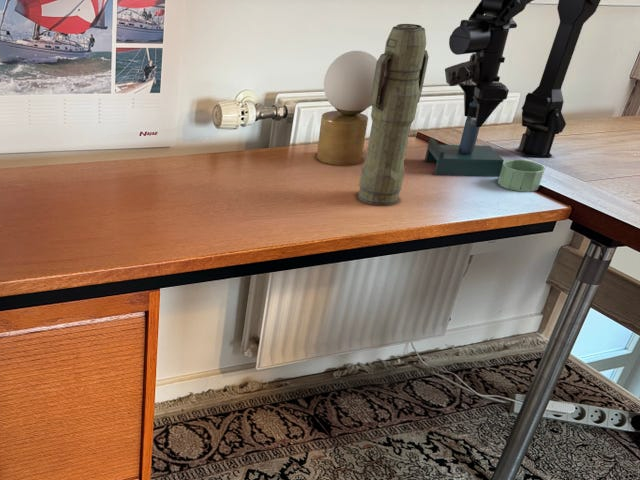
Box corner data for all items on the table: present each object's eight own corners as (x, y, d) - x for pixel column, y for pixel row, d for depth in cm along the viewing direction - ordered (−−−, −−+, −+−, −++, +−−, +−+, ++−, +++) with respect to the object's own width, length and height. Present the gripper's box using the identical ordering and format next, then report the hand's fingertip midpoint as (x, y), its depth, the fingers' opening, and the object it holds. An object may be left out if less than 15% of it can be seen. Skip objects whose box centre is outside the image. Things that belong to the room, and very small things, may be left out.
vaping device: (468, 148, 171) (480, 98, 164) (473, 155, 166) (487, 103, 160) (457, 148, 171) (469, 97, 164) (462, 155, 167) (475, 103, 160)
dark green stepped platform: (485, 161, 175) (491, 139, 172) (499, 176, 166) (505, 153, 163) (424, 160, 176) (429, 138, 173) (435, 174, 167) (440, 152, 164)
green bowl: (530, 178, 165) (536, 160, 162) (544, 192, 157) (550, 172, 155) (493, 178, 165) (498, 159, 163) (505, 191, 158) (510, 171, 155)
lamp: (328, 144, 187) (342, 43, 173) (379, 153, 180) (397, 49, 166) (303, 158, 177) (315, 53, 163) (356, 169, 170) (373, 60, 156)
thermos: (343, 197, 155) (370, 25, 135) (381, 187, 160) (412, 20, 140) (373, 210, 149) (405, 32, 129) (411, 199, 154) (447, 26, 134)
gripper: (442, 42, 164) (428, 110, 173) (464, 58, 149) (447, 132, 158) (491, 43, 163) (474, 111, 172) (518, 59, 148) (498, 133, 157)
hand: (472, 121), depth 165 cm, fingers open, 9 cm apart
